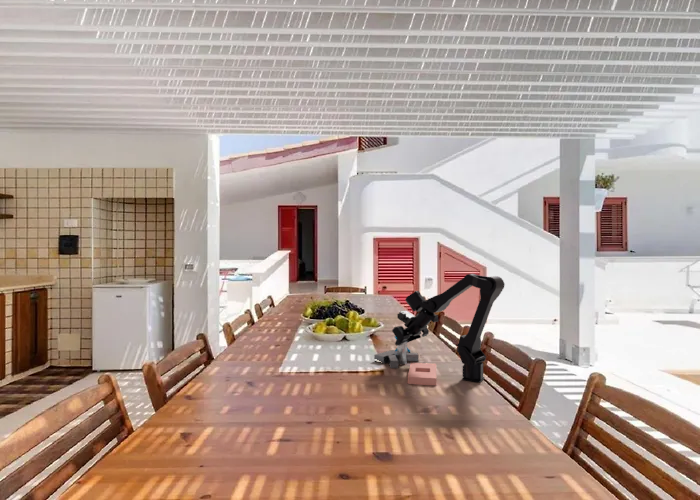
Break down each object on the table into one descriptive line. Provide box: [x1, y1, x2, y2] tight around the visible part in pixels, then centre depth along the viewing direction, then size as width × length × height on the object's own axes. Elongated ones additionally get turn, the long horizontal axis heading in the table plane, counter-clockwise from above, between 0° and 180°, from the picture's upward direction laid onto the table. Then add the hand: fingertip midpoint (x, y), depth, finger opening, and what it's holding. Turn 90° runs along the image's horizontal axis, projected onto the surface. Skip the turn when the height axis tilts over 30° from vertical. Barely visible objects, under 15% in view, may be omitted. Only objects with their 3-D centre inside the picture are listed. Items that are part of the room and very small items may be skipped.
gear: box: [394, 335, 411, 353], centre depth 207 cm, size 11×6×10 cm
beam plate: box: [407, 362, 437, 386], centre depth 167 cm, size 20×10×2 cm, turn 169°
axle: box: [396, 342, 408, 365], centre depth 186 cm, size 4×4×13 cm
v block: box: [373, 349, 420, 369], centre depth 189 cm, size 13×18×3 cm
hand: (399, 343), depth 187 cm, fingers open, 5 cm apart
